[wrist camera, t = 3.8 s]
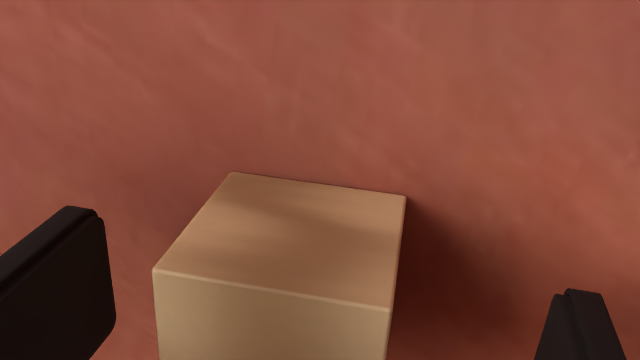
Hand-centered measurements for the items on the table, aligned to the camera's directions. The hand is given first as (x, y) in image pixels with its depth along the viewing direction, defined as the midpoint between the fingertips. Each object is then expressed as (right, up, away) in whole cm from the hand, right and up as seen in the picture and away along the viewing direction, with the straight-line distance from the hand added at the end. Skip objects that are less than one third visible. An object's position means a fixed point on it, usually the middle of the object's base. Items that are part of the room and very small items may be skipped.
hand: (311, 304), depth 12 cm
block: (0, +1, +2) cm, 2 cm away
